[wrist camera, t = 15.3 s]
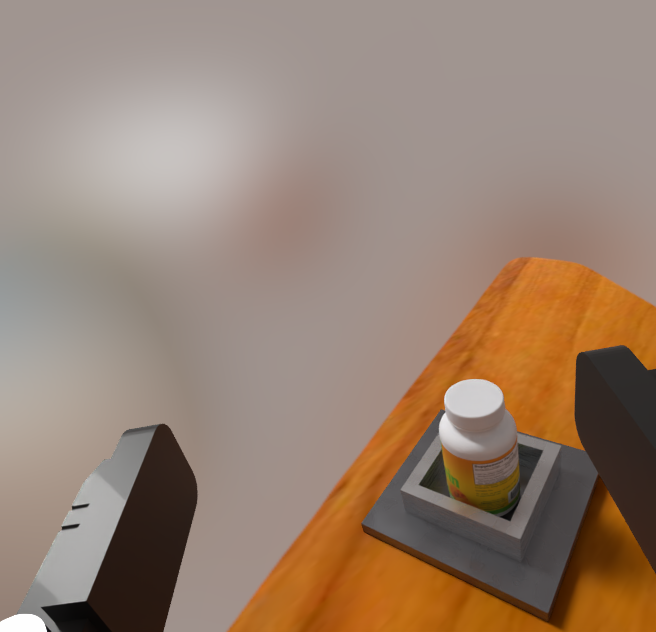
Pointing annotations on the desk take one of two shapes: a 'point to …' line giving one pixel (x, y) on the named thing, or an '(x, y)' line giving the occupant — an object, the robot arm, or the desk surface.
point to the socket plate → (491, 521)
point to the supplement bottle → (480, 447)
